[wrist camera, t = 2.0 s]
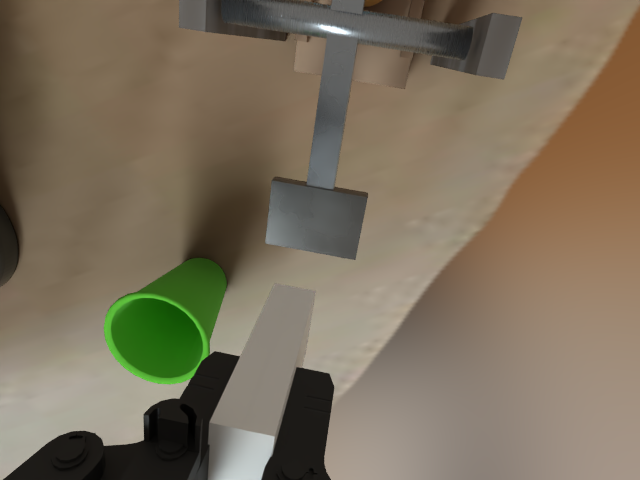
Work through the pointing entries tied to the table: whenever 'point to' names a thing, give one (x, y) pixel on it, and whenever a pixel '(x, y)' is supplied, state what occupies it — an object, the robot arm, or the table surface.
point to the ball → (371, 2)
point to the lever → (335, 109)
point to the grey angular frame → (374, 62)
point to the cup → (167, 322)
